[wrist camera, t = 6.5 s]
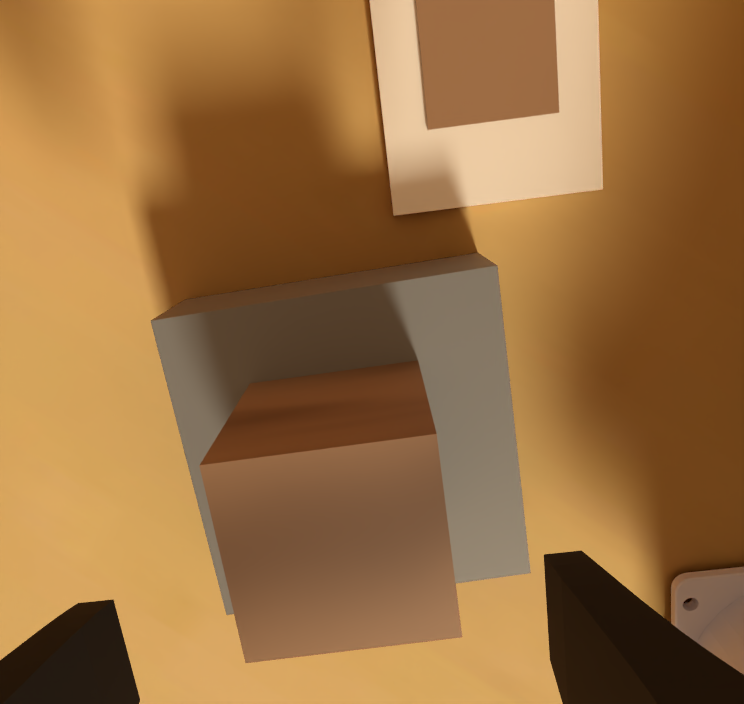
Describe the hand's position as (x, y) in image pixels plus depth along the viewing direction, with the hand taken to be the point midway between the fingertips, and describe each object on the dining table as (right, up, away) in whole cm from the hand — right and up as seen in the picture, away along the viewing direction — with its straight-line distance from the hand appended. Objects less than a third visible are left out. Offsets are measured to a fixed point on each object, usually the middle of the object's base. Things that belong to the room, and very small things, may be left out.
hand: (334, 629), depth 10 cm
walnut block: (0, +2, +7) cm, 7 cm away
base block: (0, +3, +10) cm, 10 cm away
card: (+4, +13, +7) cm, 15 cm away
